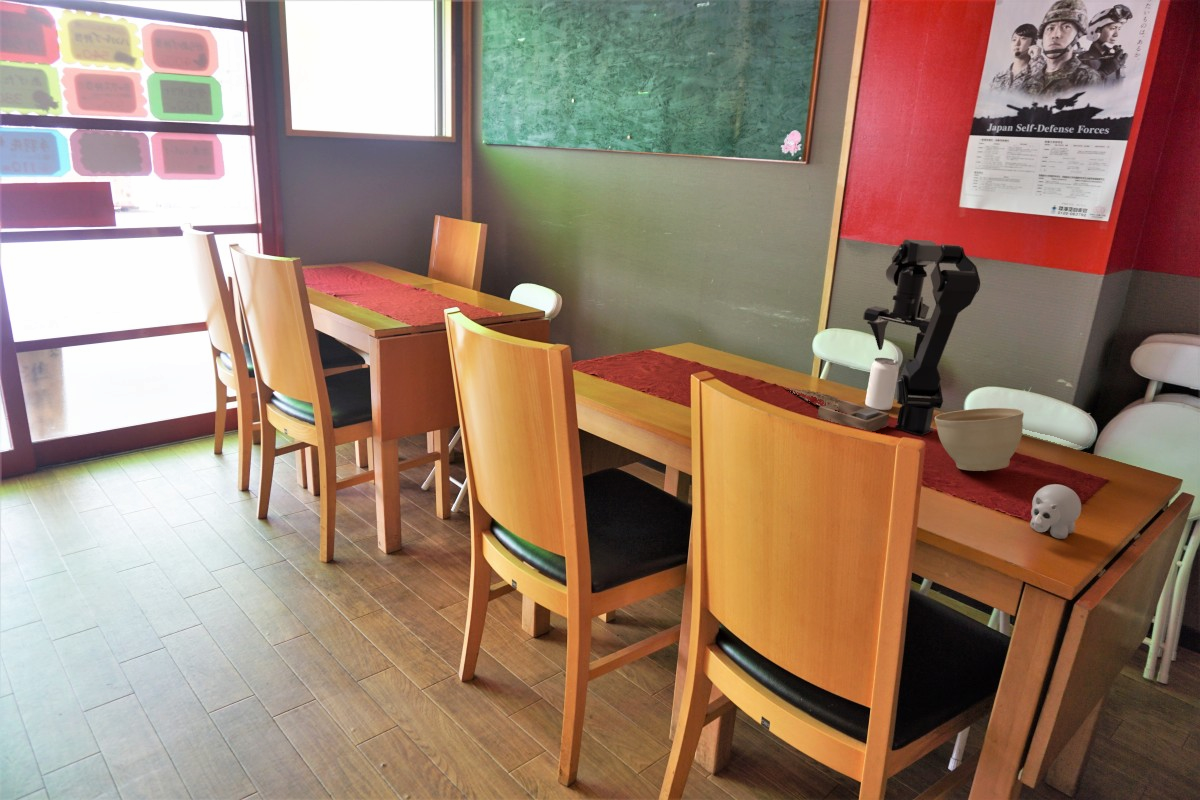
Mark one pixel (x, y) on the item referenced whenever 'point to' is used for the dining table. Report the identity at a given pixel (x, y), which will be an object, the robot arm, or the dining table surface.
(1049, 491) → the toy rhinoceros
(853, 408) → the tray
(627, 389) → the dining table surface
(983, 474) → the dining table surface
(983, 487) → the dining table surface
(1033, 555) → the dining table surface
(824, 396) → the wooden fragment
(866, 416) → the grey block
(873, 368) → the can
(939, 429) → the planter bowl
